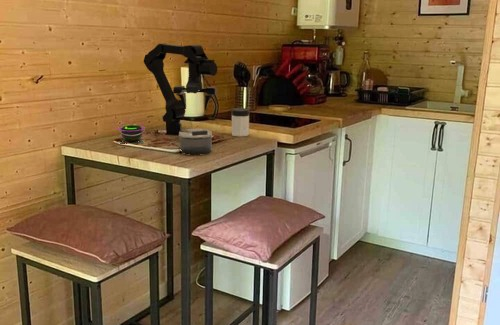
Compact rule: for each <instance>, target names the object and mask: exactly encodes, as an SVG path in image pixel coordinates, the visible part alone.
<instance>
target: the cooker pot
mask: <svg viewBox="0 0 500 325" xmlns="http://www.w3.org/2000/svg"><path fill="white" fill-rule="evenodd" d="M178 136H179V135H178ZM212 139H213V138H212V136H210V137H207V138H200V139H190V138H183V137H180V136H179V150H180V149H181V150H182V152H183V153H185V154H184V155H186V154H190V155H189V156H201V155H200V154H204V155H208V154H210V153H212V152H213V150H212V148H213V147H212V146H213V145H212V144H213V142H212Z"/></svg>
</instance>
